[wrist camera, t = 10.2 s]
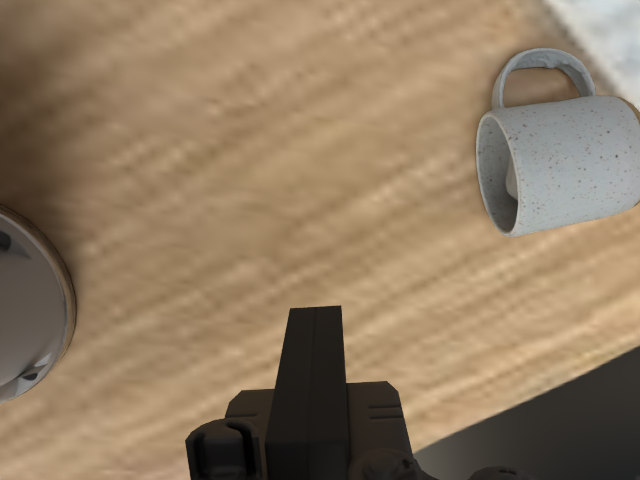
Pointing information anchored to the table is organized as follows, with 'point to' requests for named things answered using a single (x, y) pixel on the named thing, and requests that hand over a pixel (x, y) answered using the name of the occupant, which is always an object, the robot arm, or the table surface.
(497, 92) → the ceramic mug
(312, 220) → the table surface
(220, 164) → the table surface
